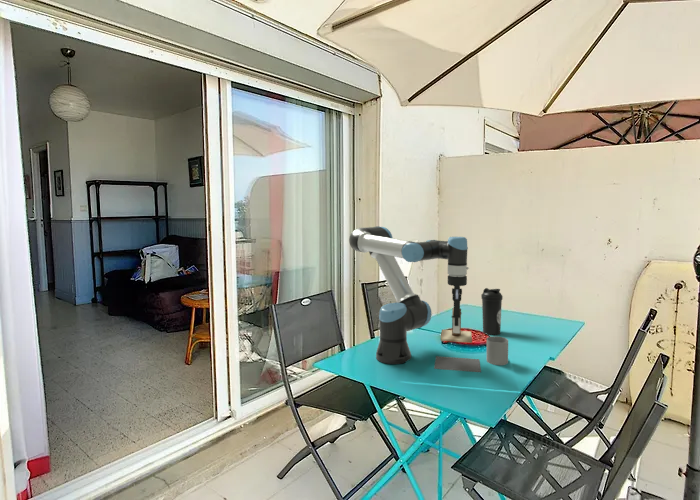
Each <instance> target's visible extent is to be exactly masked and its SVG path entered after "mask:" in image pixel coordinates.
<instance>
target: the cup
mask: <svg viewBox="0 0 700 500" xmlns="http://www.w3.org/2000/svg"><path fill="white" fill-rule="evenodd" d="M485 356H486V362H487V363H488V364H491V365H495V366H505V365H508V364H509V339H508V338H506V337H502V336H498V335H490V336H488V337H487V338H486V355H485Z"/></svg>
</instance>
